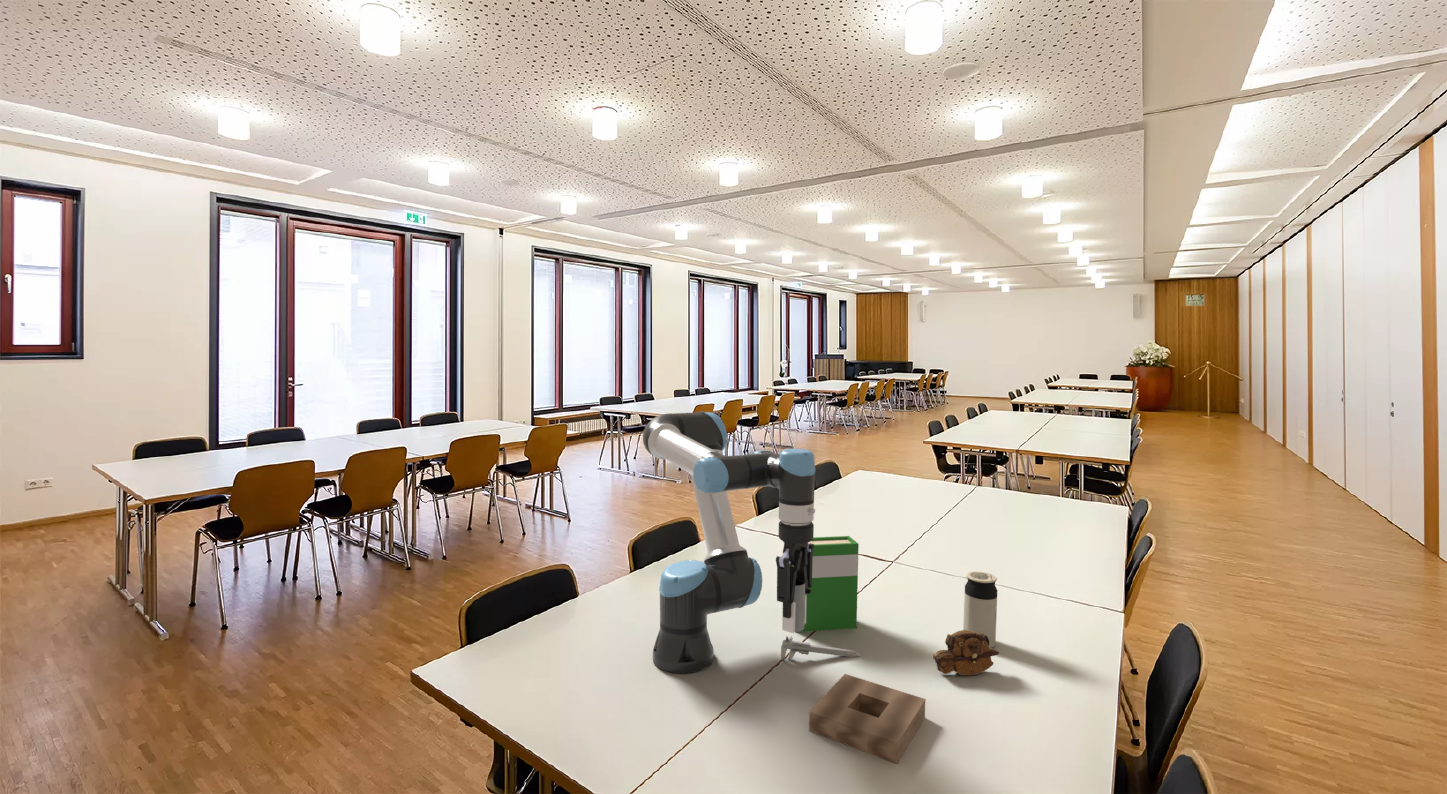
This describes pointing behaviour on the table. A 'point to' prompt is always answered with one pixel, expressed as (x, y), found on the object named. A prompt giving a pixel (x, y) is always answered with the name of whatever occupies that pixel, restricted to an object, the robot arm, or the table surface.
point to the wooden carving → (965, 653)
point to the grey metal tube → (799, 604)
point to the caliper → (811, 649)
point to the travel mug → (981, 605)
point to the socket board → (868, 717)
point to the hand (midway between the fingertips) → (794, 626)
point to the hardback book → (833, 584)
